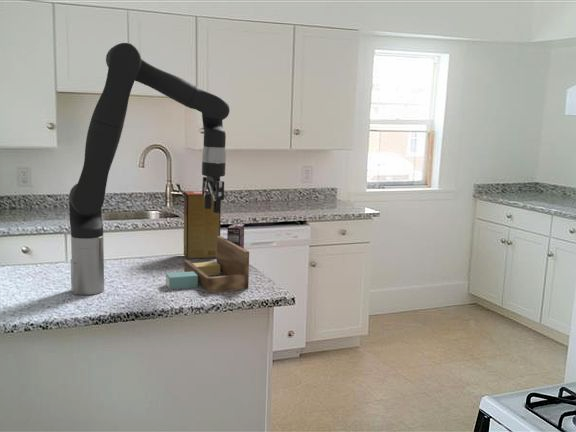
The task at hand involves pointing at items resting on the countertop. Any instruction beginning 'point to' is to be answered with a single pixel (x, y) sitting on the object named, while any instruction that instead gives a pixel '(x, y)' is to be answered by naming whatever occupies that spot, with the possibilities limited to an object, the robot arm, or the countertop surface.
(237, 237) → the supplement box
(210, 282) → the book rack
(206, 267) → the ochre book block
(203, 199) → the food packaging
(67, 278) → the countertop surface
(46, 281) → the countertop surface
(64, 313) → the countertop surface
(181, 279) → the book block
